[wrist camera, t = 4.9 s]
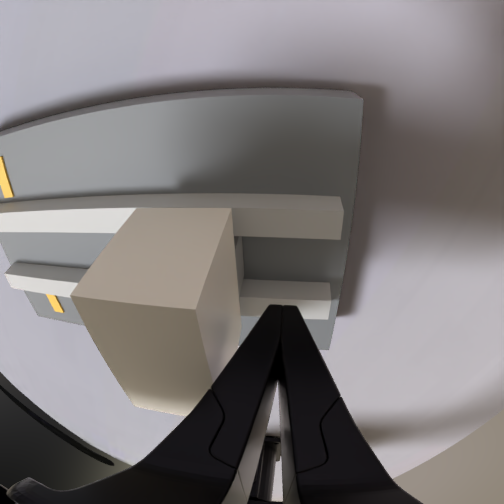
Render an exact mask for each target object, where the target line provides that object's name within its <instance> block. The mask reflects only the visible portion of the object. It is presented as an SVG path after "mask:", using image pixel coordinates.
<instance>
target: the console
mask: <svg viewBox="0 0 504 504" xmlns="http://www.w3.org/2000/svg"><path fill="white" fill-rule="evenodd" d="M362 117H363V99H362V98H361V97H359V96H358V95H357V94H355V93H354V92H353V91H345V90H332V89H314V88H233V89H215V90H201V91H189V92H179V93H170V94H162V95H154V96H147V97H140V98H134V99H127V100H122V101H116V102H110V103H105V104H100V105H95V106H90V107H86V108H81V109H77V110H73V111H68V112H64V113H60V114H57V115H53V116H49V117H45V118H42V119H38V120H35V121H31V122H28V123H25V124H21V125H18V126H15V127H12V128H9V129H6V130H3V131H0V243H1V245H2V247H3V249H4V252H5V254H6V256H7V258H8V260H9V262H10V264H11V267H10V268H9V269H8V270H7V271H6V272H5V273H4V274H5V276H6V278H7V280H8V282H9V284H10V286H11V287H12V288H14V289H20V290H24V292H25V294H26V296H27V297H28V299H29V301H30V303H31V305H32V306H33V308H34V310H35V312H36V313H37V315H38V316H41V317H45V318H50V319H54V320H59V321H64V322H69V323H74V324H79V325H84V326H85V324H84V323H83V321H82V319H81V317H80V315H79V313H78V311H77V309H76V307H75V305H74V303H73V301H72V299H71V297H70V294H71V293H72V291H73V290H74V289H75V287H76V286H77V284H78V283H79V282H80V280H81V279H82V277H83V276H84V275H85V273H86V272H87V271H88V269H89V268H90V266H91V265H92V264H93V262H94V261H95V260H96V258H97V257H98V256H99V254H100V253H101V252H102V251H103V249H104V248H105V247H106V245H107V244H108V243H109V242H110V240H111V239H112V238H113V236H114V235H115V234H116V233H117V231H118V230H119V229H120V228H121V226H122V225H123V224H124V223H125V221H126V220H127V219H128V218H129V217H130V215H131V214H132V213H133V212H134V211H135V209H136V208H231V209H232V221H233V234H234V236H242V246H243V261H244V278H243V283H242V287H241V292H240V297H239V303H240V314H241V325H242V328H241V333H240V338H239V344H238V346H240V345H241V344H242V342H243V341H244V339H245V338H246V337H247V335H248V334H249V332H250V331H251V330H252V328H253V327H254V325H255V324H256V322H257V321H258V320H259V318H260V317H261V315H262V314H263V312H264V311H265V309H266V308H267V307H268V305H270V304H279V305H296V306H297V307H298V308H299V310H300V312H301V314H302V316H303V318H304V320H305V323H306V325H307V327H308V329H309V331H310V333H311V335H312V337H313V339H314V341H315V343H316V345H317V347H318V349H319V350H329V347H330V343H331V338H332V334H333V329H334V324H335V319H336V314H337V309H338V304H339V299H340V294H341V288H342V282H343V277H344V271H345V265H346V259H347V253H348V246H349V240H350V233H351V226H352V218H353V211H354V203H355V194H356V186H357V177H358V167H359V156H360V145H361V132H362Z"/></svg>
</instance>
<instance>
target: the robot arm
mask: <svg viewBox="0 0 504 504" xmlns="http://www.w3.org/2000/svg"><path fill="white" fill-rule="evenodd" d="M277 382H278V392H279V412H280V434H281V439H280V438H270V437H265V434H266V430H267V426H268V422H269V417H270V413H271V409H272V405H273V400H274V396H275V392H276V387H277ZM340 396H341V395H340V392H339V390H338V388H337V386H336V384H335V382H334V380H333V378H332V376H331V374H330V372H329V370H328V368H327V366H326V363H325V361H324V359H323V357H322V355H321V353H320V351H319V349H318V347H317V345H316V343H315V341H314V339H313V337H312V335H311V333H310V331H309V329H308V327H307V325H306V323H305V320H304V318H303V316H302V314H301V312H300V310H299V308H298V307H297V306H296V305H279V304H270V305H268V307H267V308H266V309H265V311H264V312H263V314H262V315H261V317H260V318H259V320H258V321H257V322H256V324H255V325H254V327H253V328H252V330H251V331H250V332H249V334H248V335H247V337H246V338H245V339H244V341H243V342H242V344H241V345H240V347H239V348H238V349H237V351H236V352H235V354H234V355H233V356H232V358H231V359H230V361H229V362H228V363H227V365H226V366H225V367H224V369H223V370H222V372H221V373H220V374H219V376H218V377H217V378H216V380H215V381H214V383H213V384H212V385H211V389H208V391H207V392H206V393H205V395H204V396H203V397H202V399H201V400H200V401H199V402H198V404H197V405H196V406H195V407H194V409H193V410H192V411H191V412H190V413H189V414H188V415H187V417H186V418H185V419H184V420H183V421H182V422H181V423H180V424H179V425H178V426H177V427H176V428H175V429H174V430H173V431H172V432H171V433H170V434H169V435H168V436H167V437H166V438H165V439H164V440H163V441H162V442H161V443H160V444H159V445H158V446H157V447H156V448H155V449H153V450H152V451H151V452H150V453H149V454H148V455H147V456H146V457H145V458H144V459H142V460H141V461H140V462H138V463H137V464H135V465H133V466H132V467H130V468H128V469H125V470H123V471H121V472H118V473H116V474H113V475H111V476H109V477H106V478H104V479H101V480H98V481H96V482H93V483H90V484H87V485H85V486H82V487H79V488H76V489H72V490H67V491H58V490H53V489H50V488H48V487H46V486H44V485H42V484H41V483H39V482H37V481H35V480H33V479H31V478H27V479H24V480H22V481H20V482H18V483H16V484H15V485H13V486H12V487H11V488H10V489H9V490H8V489H7V488H5V487H4V486H2V485H0V504H423V503H421V502H420V501H418V500H417V499H415V498H414V497H412V496H411V495H410V494H408V493H407V492H406V491H404V490H403V489H402V488H401V487H399V486H398V485H397V484H396V483H395V482H394V481H393V479H392V478H391V477H390V476H389V474H388V473H387V471H386V470H385V469H384V467H383V466H382V464H381V463H380V461H379V460H378V458H377V457H376V455H375V454H374V452H373V451H372V449H371V448H370V446H369V445H368V443H367V442H366V440H365V439H364V437H363V435H362V434H361V432H360V430H359V429H358V427H357V426H356V424H355V422H354V420H353V418H352V416H351V415H350V413H349V411H348V409H347V407H346V405H345V403H344V401H343V398H342V397H340ZM280 454H281V457H282V483H283V501H282V502H273V501H271V499H272V491H273V482H274V472H275V463H276V461H280Z"/></svg>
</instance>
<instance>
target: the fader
mask: <svg viewBox="0 0 504 504" xmlns="http://www.w3.org/2000/svg"><path fill="white" fill-rule="evenodd" d="M243 278H244V261H243V246H242V236H234V234H233V221H232V209H231V208H136V209H135V211H134V212H133V213H132V214H131V215H130V217H129V218H128V219H127V220H126V221H125V223H124V224H123V225H122V226H121V228H120V229H119V230H118V231H117V233H116V234H115V235H114V236H113V238H112V239H111V240H110V242H109V243H108V244H107V245H106V247H105V248H104V249H103V251H102V252H101V253H100V254H99V256H98V257H97V258H96V260H95V261H94V262H93V264H92V265H91V266H90V268H89V269H88V271H87V272H86V273H85V275H84V276H83V277H82V279H81V280H80V282H79V283H78V284H77V286H76V287H75V289H74V290H73V291H72V293H71V294H70V297H71V299H72V301H73V303H74V305H75V307H76V309H77V311H78V313H79V315H80V317H81V319H82V321H83V323H84V324H85V326H86V328H87V330H88V332H89V334H90V335H91V337H92V339H93V341H94V343H95V344H96V346H97V348H98V350H99V351H100V353H101V355H102V356H103V358H104V360H105V361H106V363H107V365H108V366H109V368H110V370H111V371H112V373H113V375H114V376H115V378H116V379H117V381H118V382H119V384H120V386H121V387H122V389H123V390H124V392H125V393H126V395H127V396H128V398H129V399H130V401H131V402H132V403H133V405H134V406H136V407H140V408H145V409H150V410H154V411H159V412H165V413H170V414H175V415H181V416H187V415H188V414H189V413H190V412H191V411H192V410H193V409H194V407H195V406H196V405H197V404H198V402H199V401H200V400H201V399H202V397H203V396H204V395H205V393H206V392H207V391H208V389H211V385H212V384H213V383H214V381H215V380H216V378H217V377H218V376H219V374H220V373H221V372H222V370H223V369H224V367H225V366H226V365H227V363H228V362H229V361H230V359H231V358H232V356H233V355H234V354H235V352H236V351H237V349H238V344H239V338H240V333H241V328H242V325H241V314H240V303H239V297H240V292H241V287H242V283H243Z"/></svg>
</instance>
